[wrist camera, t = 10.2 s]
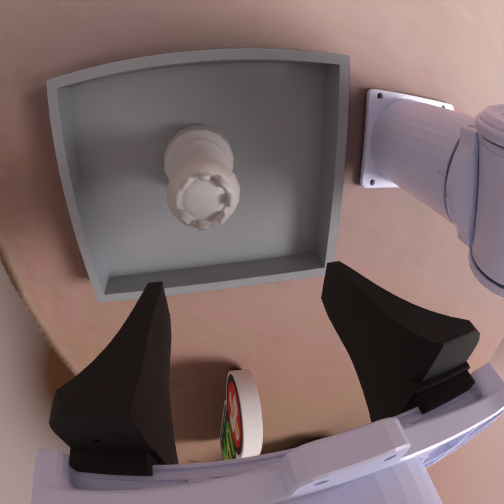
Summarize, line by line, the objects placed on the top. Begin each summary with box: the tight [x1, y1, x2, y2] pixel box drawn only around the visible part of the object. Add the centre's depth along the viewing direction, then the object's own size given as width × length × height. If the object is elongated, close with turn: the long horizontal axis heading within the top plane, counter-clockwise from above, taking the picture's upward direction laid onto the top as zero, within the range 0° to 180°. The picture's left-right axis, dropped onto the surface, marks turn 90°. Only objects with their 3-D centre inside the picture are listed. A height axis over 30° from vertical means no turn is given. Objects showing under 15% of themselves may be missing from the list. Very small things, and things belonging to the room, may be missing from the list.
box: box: [46, 48, 350, 303], centre depth 19 cm, size 18×16×3 cm
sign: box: [220, 370, 263, 460], centre depth 32 cm, size 22×2×10 cm, turn 172°
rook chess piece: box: [164, 125, 240, 230], centre depth 16 cm, size 4×4×8 cm
